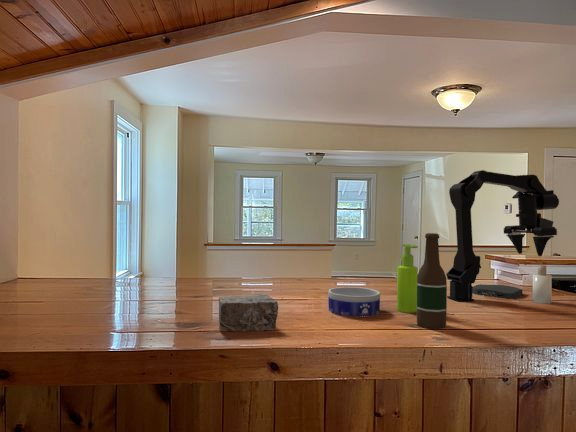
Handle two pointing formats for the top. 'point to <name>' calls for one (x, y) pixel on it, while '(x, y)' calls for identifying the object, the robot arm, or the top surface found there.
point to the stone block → (247, 313)
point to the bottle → (542, 286)
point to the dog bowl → (354, 301)
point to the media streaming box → (497, 291)
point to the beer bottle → (431, 288)
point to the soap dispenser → (407, 282)
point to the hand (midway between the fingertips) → (529, 254)
